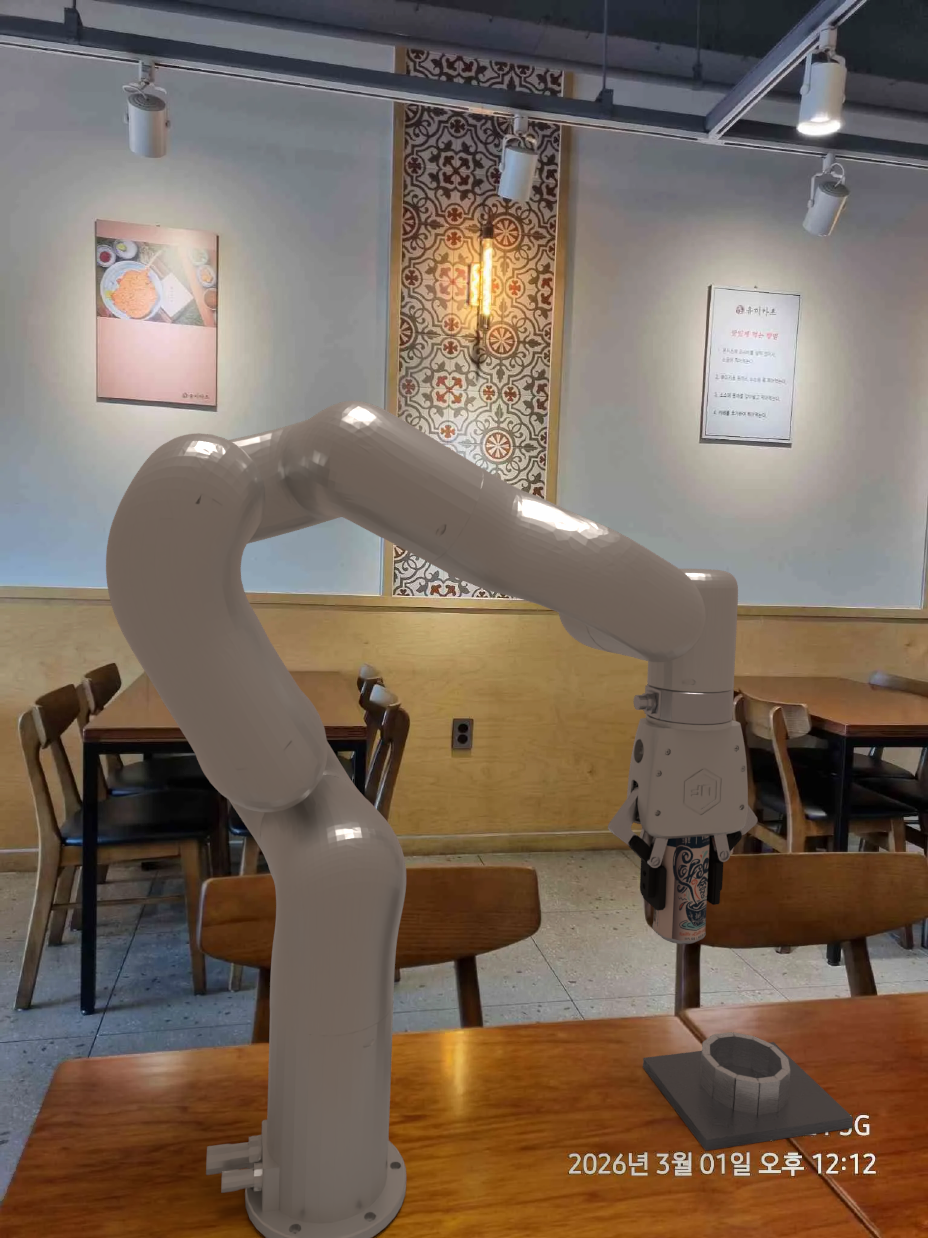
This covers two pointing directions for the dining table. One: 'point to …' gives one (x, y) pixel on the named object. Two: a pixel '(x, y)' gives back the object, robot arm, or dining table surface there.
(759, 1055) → the can stand
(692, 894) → the canned coffee drink
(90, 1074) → the dining table surface
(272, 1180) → the robot arm
